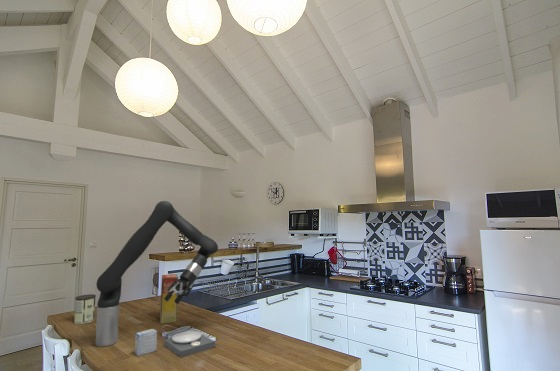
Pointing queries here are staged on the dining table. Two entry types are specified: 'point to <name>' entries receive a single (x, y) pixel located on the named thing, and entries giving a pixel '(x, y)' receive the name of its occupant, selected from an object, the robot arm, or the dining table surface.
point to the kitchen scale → (188, 343)
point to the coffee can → (84, 309)
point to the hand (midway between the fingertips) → (170, 301)
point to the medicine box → (145, 342)
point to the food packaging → (168, 307)
